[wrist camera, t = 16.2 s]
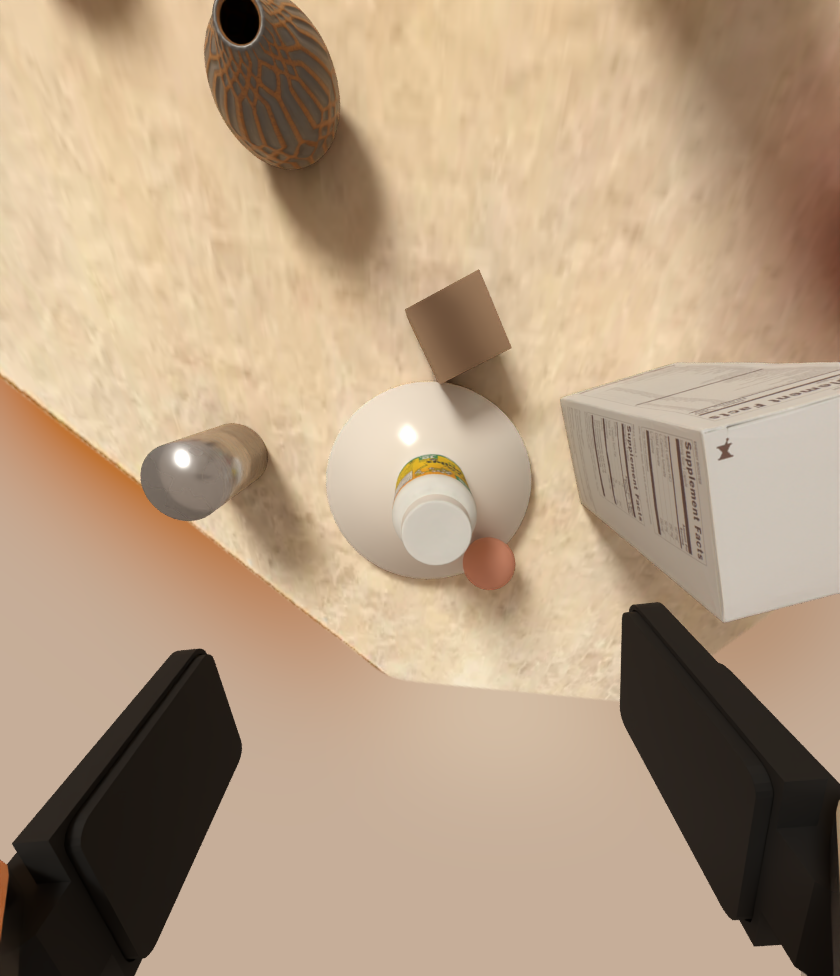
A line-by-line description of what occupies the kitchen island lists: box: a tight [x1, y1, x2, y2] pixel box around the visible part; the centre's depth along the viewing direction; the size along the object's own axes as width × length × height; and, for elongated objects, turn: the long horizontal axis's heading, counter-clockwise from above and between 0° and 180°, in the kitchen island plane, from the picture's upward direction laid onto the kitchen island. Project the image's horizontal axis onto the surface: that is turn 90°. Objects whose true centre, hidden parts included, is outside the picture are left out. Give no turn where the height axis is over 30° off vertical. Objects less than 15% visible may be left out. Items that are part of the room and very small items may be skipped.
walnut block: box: [405, 270, 511, 384], centre depth 29 cm, size 5×5×5 cm
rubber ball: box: [463, 537, 515, 590], centre depth 32 cm, size 4×4×4 cm
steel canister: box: [141, 423, 268, 521], centre depth 30 cm, size 5×5×8 cm
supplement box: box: [560, 362, 840, 623], centre depth 25 cm, size 10×9×17 cm
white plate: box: [326, 381, 531, 579], centre depth 33 cm, size 16×16×1 cm
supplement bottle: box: [392, 454, 477, 565], centre depth 28 cm, size 5×5×10 cm
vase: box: [204, 0, 340, 169], centre depth 23 cm, size 7×7×9 cm
